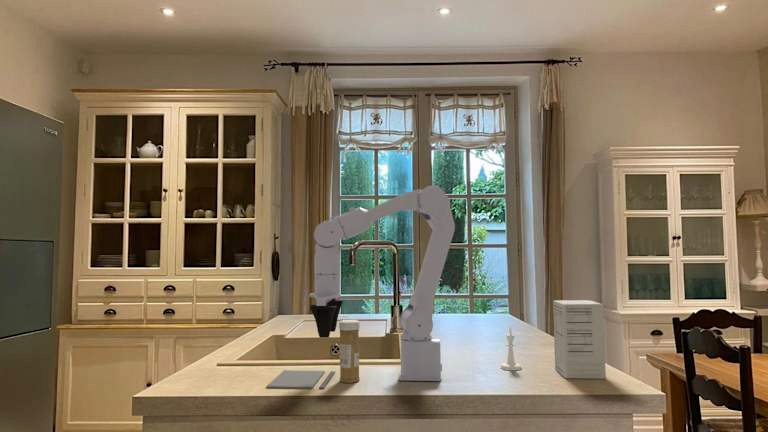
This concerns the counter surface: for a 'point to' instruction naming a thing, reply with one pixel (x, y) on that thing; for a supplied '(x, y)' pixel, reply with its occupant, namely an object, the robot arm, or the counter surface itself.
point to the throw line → (327, 380)
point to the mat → (296, 379)
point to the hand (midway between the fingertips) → (327, 334)
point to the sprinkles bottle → (349, 351)
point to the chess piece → (510, 355)
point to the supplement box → (579, 339)
